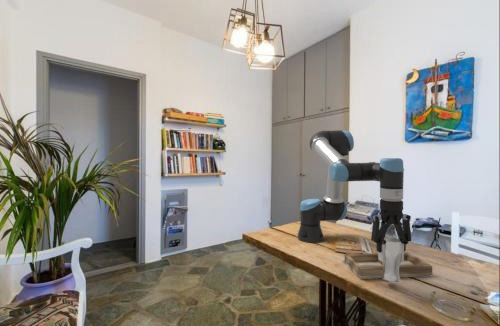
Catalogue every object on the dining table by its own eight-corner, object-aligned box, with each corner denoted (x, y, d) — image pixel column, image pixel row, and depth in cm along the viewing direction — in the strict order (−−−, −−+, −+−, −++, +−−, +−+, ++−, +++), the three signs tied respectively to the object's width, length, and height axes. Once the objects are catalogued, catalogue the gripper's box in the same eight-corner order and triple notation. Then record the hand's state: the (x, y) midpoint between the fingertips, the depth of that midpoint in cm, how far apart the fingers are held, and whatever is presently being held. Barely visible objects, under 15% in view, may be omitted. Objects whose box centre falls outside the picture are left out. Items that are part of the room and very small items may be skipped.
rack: (344, 263, 110) (344, 254, 109) (407, 261, 111) (407, 252, 111) (360, 279, 96) (360, 268, 96) (432, 275, 97) (432, 265, 97)
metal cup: (389, 272, 95) (389, 235, 94) (406, 280, 89) (406, 240, 88) (376, 275, 93) (376, 237, 92) (392, 284, 86) (393, 243, 85)
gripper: (371, 202, 85) (371, 265, 86) (424, 200, 86) (423, 263, 87) (360, 198, 93) (360, 256, 93) (409, 196, 94) (408, 254, 95)
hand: (390, 259), depth 90 cm, fingers closed on metal cup, 7 cm apart
